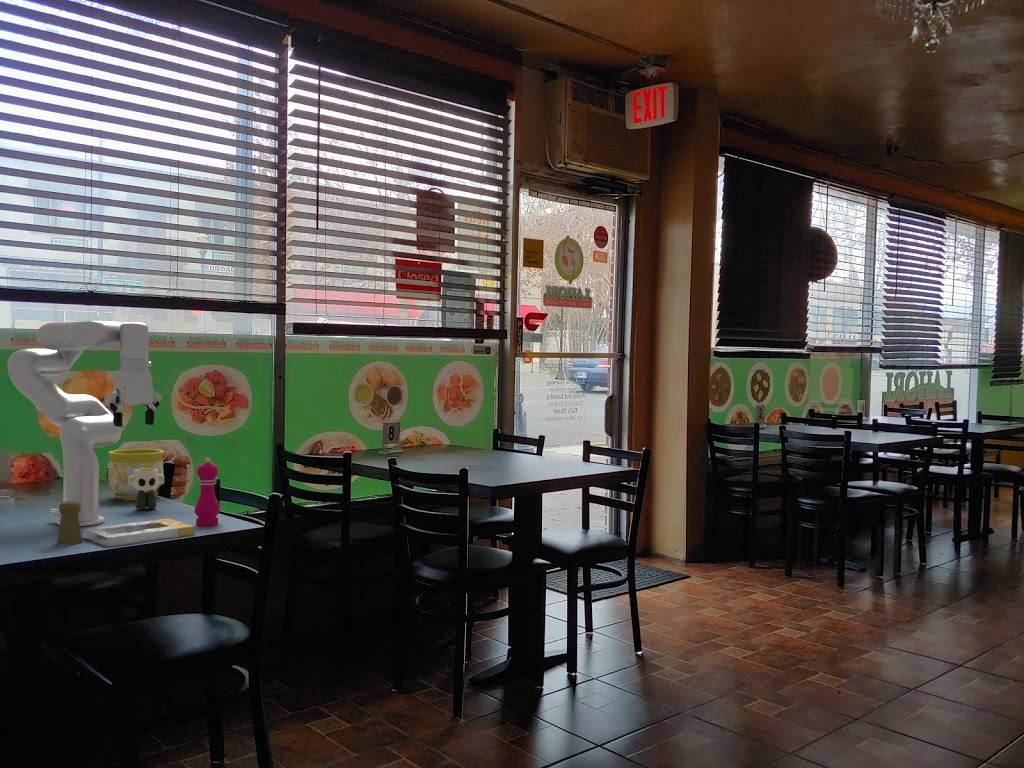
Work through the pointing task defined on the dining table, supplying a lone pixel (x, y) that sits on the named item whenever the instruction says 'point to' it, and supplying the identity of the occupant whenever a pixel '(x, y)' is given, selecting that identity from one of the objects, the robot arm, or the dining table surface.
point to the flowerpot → (132, 469)
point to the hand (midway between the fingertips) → (134, 425)
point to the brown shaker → (69, 523)
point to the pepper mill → (207, 495)
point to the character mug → (145, 486)
